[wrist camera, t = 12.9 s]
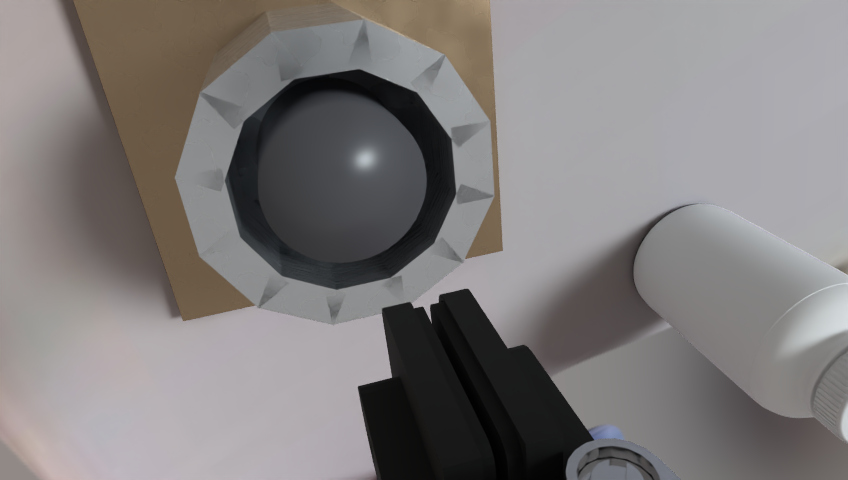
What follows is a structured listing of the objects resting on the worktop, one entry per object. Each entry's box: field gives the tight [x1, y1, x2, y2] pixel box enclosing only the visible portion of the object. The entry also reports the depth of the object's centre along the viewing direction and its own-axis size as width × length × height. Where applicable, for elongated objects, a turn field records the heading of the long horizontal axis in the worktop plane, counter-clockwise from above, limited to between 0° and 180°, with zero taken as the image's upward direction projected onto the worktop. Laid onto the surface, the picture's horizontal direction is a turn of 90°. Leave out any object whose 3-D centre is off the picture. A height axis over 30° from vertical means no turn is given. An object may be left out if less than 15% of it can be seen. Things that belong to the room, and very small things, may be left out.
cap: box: [257, 77, 427, 263], centre depth 23 cm, size 6×6×5 cm
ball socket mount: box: [73, 0, 503, 325], centre depth 26 cm, size 18×18×10 cm
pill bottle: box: [633, 204, 848, 444], centre depth 33 cm, size 8×8×15 cm
